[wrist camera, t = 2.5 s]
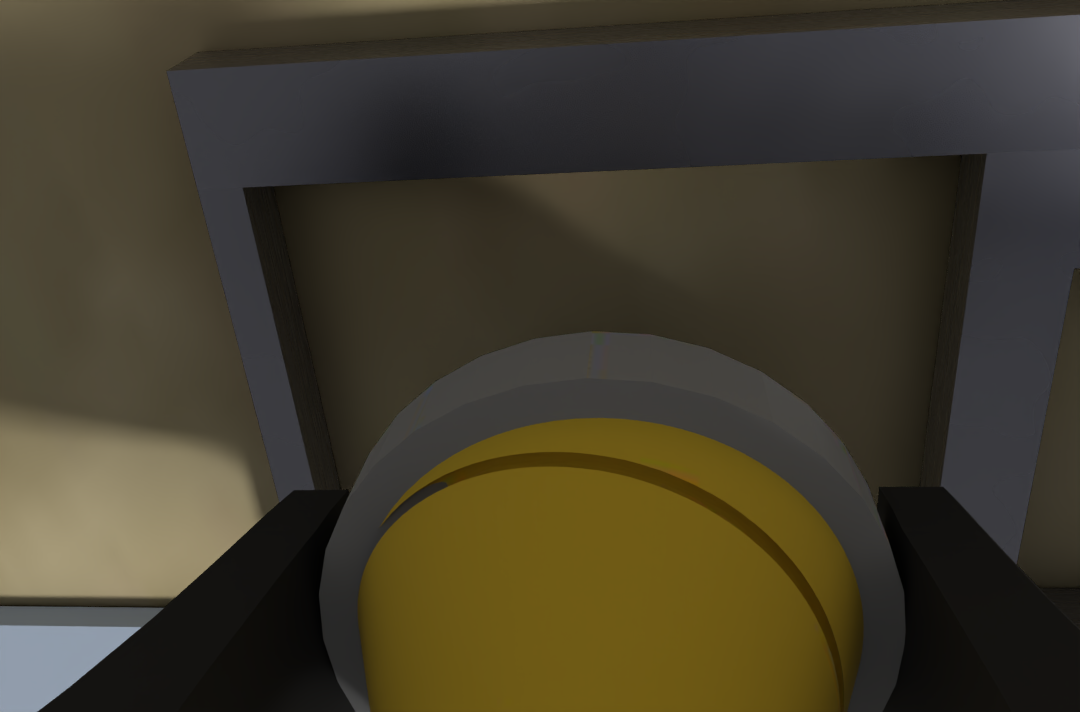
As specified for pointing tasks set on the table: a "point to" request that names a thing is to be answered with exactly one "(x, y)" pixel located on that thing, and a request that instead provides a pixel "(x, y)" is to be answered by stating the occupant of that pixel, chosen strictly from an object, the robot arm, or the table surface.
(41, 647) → the mat
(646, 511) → the yellow cone
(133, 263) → the table surface
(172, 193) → the table surface
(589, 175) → the table surface
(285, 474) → the rectangular frame
